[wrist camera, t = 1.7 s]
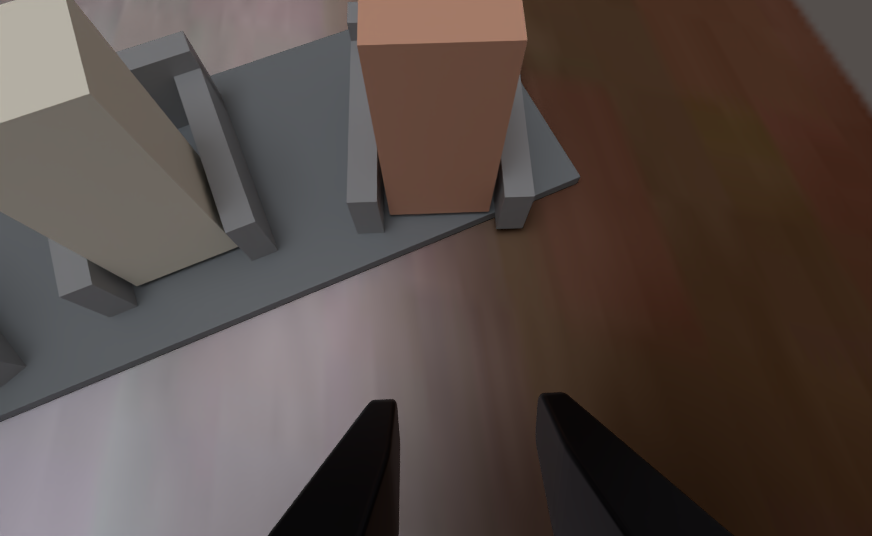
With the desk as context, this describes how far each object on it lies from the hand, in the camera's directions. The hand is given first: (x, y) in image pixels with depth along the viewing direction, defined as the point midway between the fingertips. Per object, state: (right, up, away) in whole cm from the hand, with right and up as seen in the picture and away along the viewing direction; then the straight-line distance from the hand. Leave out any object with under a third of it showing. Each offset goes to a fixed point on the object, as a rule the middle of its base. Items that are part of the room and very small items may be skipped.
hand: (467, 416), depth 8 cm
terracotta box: (0, +6, +16) cm, 17 cm away
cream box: (-12, +4, +15) cm, 20 cm away
